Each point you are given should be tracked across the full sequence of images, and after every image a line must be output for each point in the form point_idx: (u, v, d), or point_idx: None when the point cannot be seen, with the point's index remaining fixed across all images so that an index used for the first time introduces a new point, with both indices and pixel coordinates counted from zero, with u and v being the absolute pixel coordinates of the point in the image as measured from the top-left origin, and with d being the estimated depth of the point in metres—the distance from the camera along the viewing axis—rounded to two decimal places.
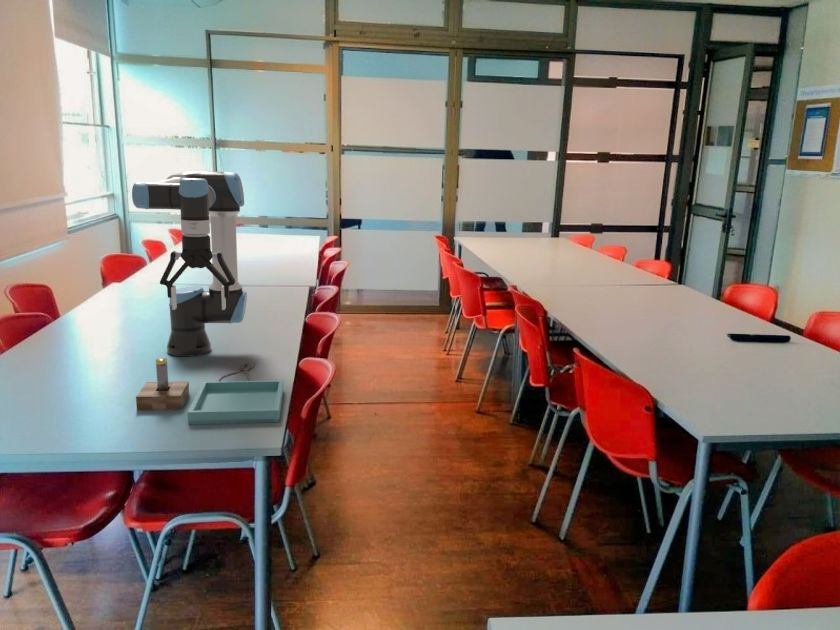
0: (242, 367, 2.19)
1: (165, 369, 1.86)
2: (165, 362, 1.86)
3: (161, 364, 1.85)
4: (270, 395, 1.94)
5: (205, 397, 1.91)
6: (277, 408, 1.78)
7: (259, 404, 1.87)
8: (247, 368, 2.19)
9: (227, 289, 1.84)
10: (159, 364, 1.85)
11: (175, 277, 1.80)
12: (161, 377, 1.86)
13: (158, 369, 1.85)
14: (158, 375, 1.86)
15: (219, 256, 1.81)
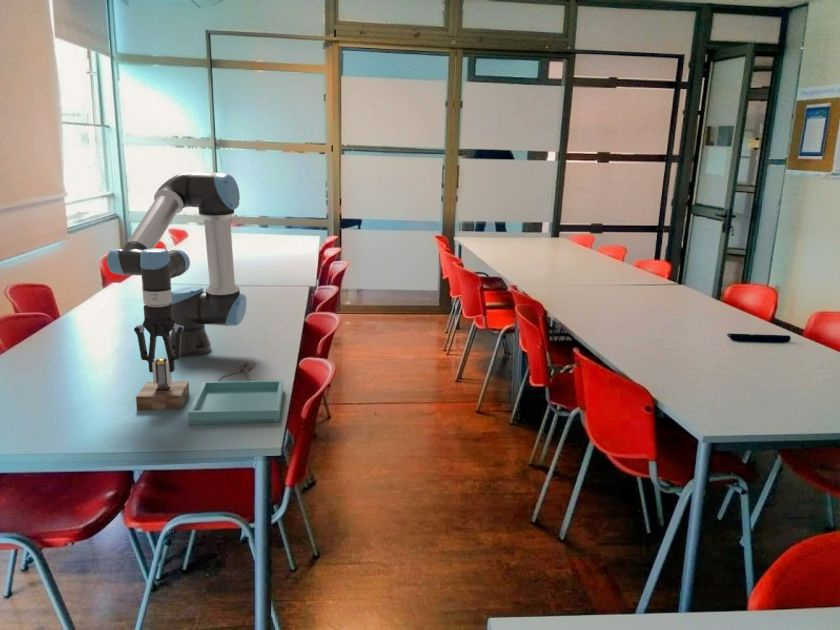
0: (242, 367, 2.19)
1: (165, 369, 1.86)
2: (165, 362, 1.86)
3: (161, 364, 1.85)
4: (270, 395, 1.94)
5: (205, 397, 1.91)
6: (277, 408, 1.78)
7: (259, 404, 1.87)
8: (247, 368, 2.19)
9: (172, 364, 1.86)
10: (159, 364, 1.85)
11: (151, 351, 1.84)
12: (161, 377, 1.86)
13: (158, 369, 1.85)
14: (158, 375, 1.86)
15: (179, 330, 1.83)
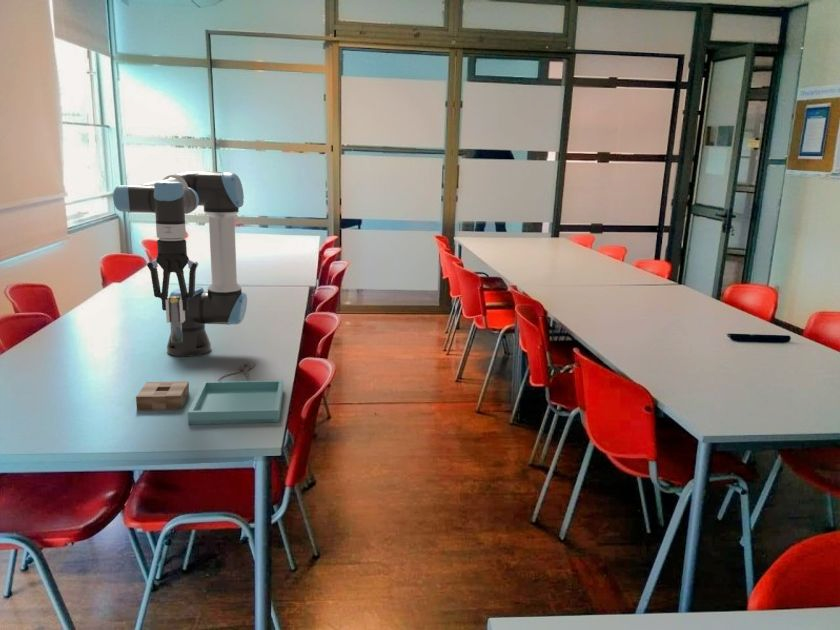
0: (242, 367, 2.19)
1: (178, 307, 1.81)
2: (178, 300, 1.80)
3: (174, 302, 1.80)
4: (270, 395, 1.94)
5: (205, 397, 1.91)
6: (277, 408, 1.78)
7: (259, 404, 1.87)
8: (247, 368, 2.19)
9: (185, 302, 1.81)
10: (172, 302, 1.80)
11: (164, 287, 1.79)
12: (175, 316, 1.81)
13: (171, 307, 1.80)
14: (171, 313, 1.81)
15: (193, 266, 1.78)
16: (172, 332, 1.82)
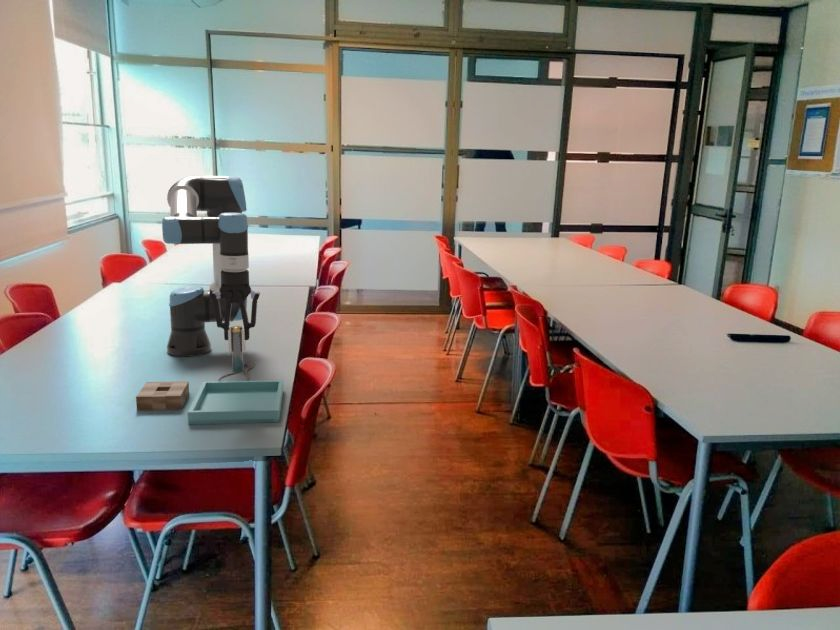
0: None
1: (240, 337, 1.82)
2: (241, 330, 1.81)
3: (237, 332, 1.81)
4: (270, 395, 1.94)
5: (205, 397, 1.91)
6: (277, 408, 1.78)
7: (259, 404, 1.87)
8: (247, 368, 2.19)
9: (247, 331, 1.82)
10: (235, 332, 1.81)
11: (227, 318, 1.80)
12: (237, 345, 1.82)
13: (233, 336, 1.81)
14: (233, 343, 1.81)
15: (256, 297, 1.79)
16: (234, 361, 1.83)
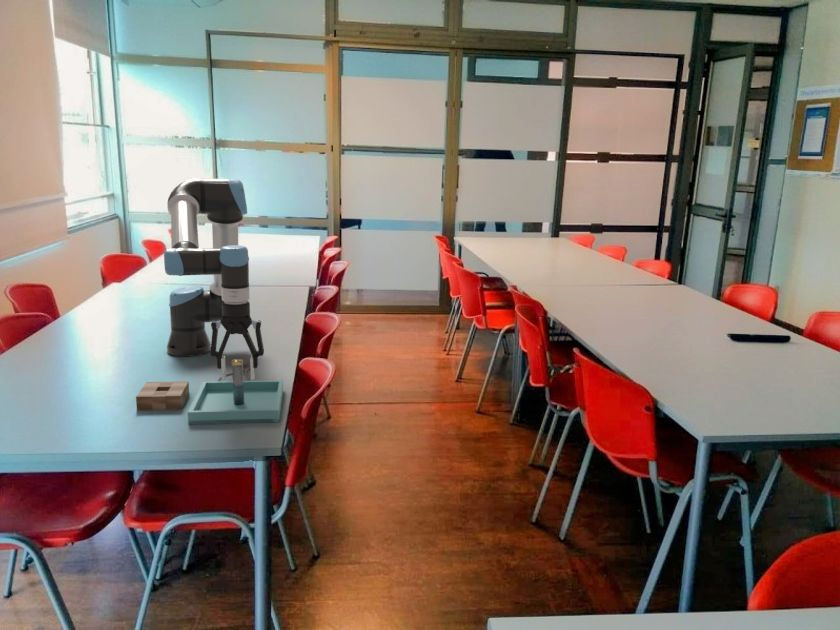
0: None
1: (241, 370, 1.84)
2: (241, 363, 1.84)
3: (237, 365, 1.83)
4: (270, 395, 1.94)
5: (205, 397, 1.91)
6: (277, 408, 1.78)
7: (259, 404, 1.87)
8: (247, 368, 2.19)
9: (256, 360, 1.84)
10: (235, 365, 1.83)
11: (222, 347, 1.81)
12: (237, 379, 1.84)
13: (234, 370, 1.84)
14: (234, 376, 1.84)
15: (258, 326, 1.82)
16: (235, 394, 1.85)
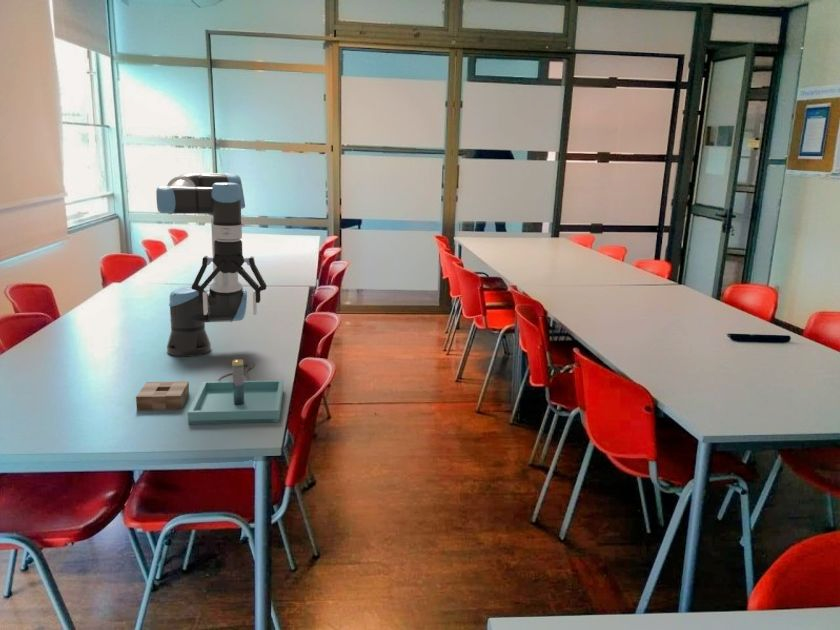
0: None
1: (241, 370, 1.84)
2: (241, 363, 1.84)
3: (238, 365, 1.83)
4: (270, 395, 1.94)
5: (205, 397, 1.91)
6: (277, 408, 1.78)
7: (259, 404, 1.87)
8: (247, 368, 2.19)
9: (258, 294, 1.83)
10: (236, 365, 1.83)
11: (207, 282, 1.79)
12: (238, 379, 1.84)
13: (234, 370, 1.84)
14: (234, 376, 1.84)
15: (251, 261, 1.80)
16: (235, 394, 1.85)
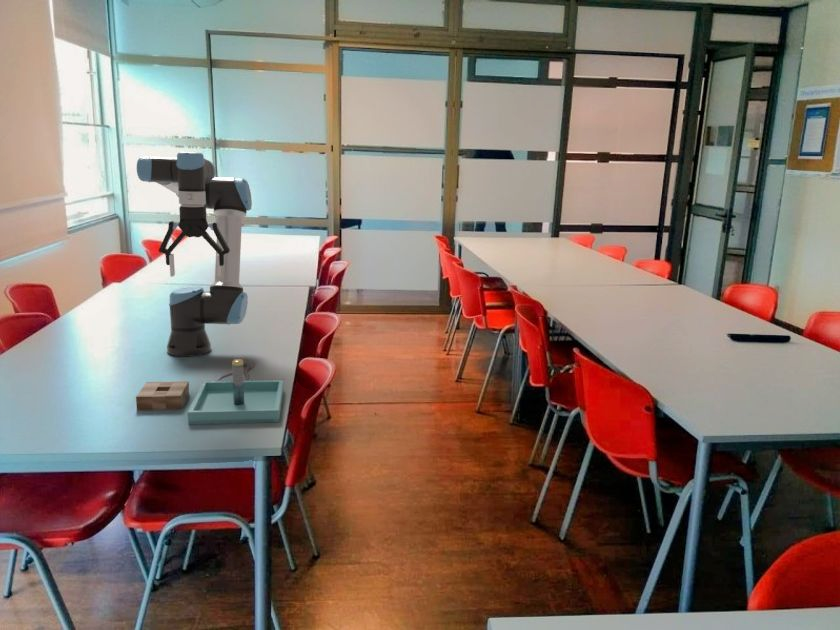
0: None
1: (241, 370, 1.84)
2: (241, 363, 1.84)
3: (238, 365, 1.83)
4: (270, 395, 1.94)
5: (205, 397, 1.91)
6: (277, 408, 1.78)
7: (259, 404, 1.87)
8: (247, 368, 2.19)
9: (222, 257, 1.95)
10: (236, 365, 1.83)
11: (173, 245, 1.92)
12: (238, 379, 1.84)
13: (234, 370, 1.84)
14: (234, 376, 1.84)
15: (214, 226, 1.92)
16: (235, 394, 1.85)
